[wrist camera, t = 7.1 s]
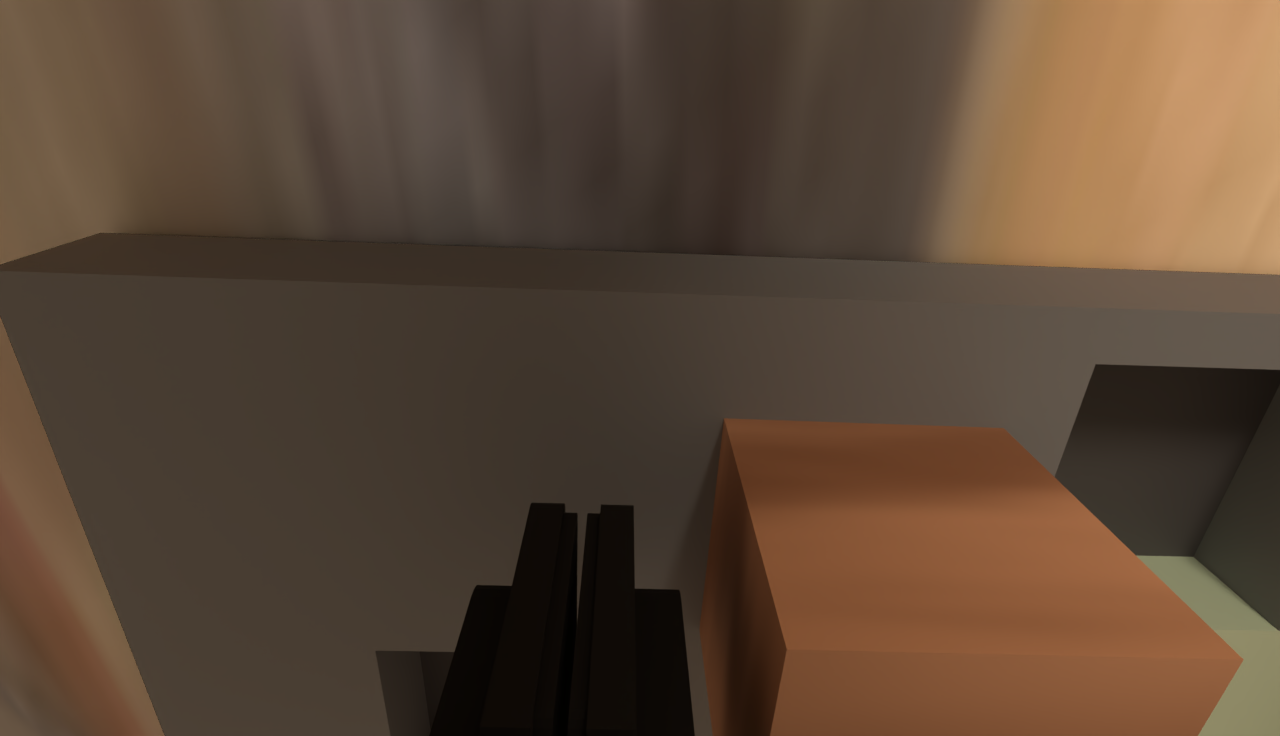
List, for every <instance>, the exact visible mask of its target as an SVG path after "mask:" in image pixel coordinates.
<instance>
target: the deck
mask: <svg viewBox="0 0 1280 736" xmlns="http://www.w3.org/2000/svg"><path fill="white" fill-rule="evenodd" d="M0 317H1V319H2V322H3V324H4V327H5V329H6V332H7V335H8V337H9V340H10V342H11V345H12V347H13V350H14V352H15V355H16V357H17V360H18V363H19V365H20V368H21V370H22V373H23V375H24V378H25V380H26V383H27V386H28V388H29V391H30V393H31V396H32V398H33V401H34V403H35V406H36V408H37V411H38V414H39V416H40V419H41V421H42V424H43V426H44V429H45V431H46V434H47V437H48V439H49V442H50V444H51V447H52V449H53V452H54V454H55V457H56V460H57V462H58V465H59V467H60V470H61V472H62V475H63V477H64V480H65V482H66V485H67V488H68V490H69V493H70V495H71V498H72V500H73V503H74V505H75V508H76V511H77V513H78V516H79V518H80V521H81V523H82V526H83V528H84V531H85V534H86V536H87V539H88V541H89V544H90V546H91V549H92V551H93V554H94V556H95V559H96V562H97V564H98V567H99V569H100V572H101V574H102V577H103V579H104V582H105V585H106V587H107V590H108V592H109V595H110V597H111V600H112V602H113V605H114V608H115V610H116V613H117V615H118V618H119V620H120V623H121V625H122V628H123V630H124V633H125V636H126V638H127V641H128V643H129V646H130V648H131V651H132V653H133V656H134V659H135V661H136V664H137V666H138V669H139V671H140V674H141V676H142V679H143V682H144V684H145V687H146V689H147V692H148V694H149V697H150V699H151V702H152V704H153V707H154V710H155V712H156V715H157V717H158V720H159V722H160V725H161V727H162V730H163V733H164V735H165V736H429V735H430V731H431V728H432V725H433V721H434V718H435V715H436V711H437V708H438V705H439V701H440V698H441V695H442V691H443V688H444V685H445V681H446V678H447V675H448V672H449V668H450V665H451V662H452V658H453V655H454V652H455V648H456V645H457V642H458V638H459V635H460V632H461V628H462V625H463V622H464V618H465V615H466V612H467V608H468V605H469V602H470V598H471V595H472V593H473V590H474V588H475V587H476V585H501V586H512V583H513V578H514V574H515V570H516V565H517V561H518V556H519V552H520V548H521V543H522V539H523V535H524V530H525V526H526V521H527V517H528V513H529V508H530V505H531V503H565V512H567V513H577V514H578V549H577V619H578V608H579V597H580V587H581V576H582V565H583V555H584V544H585V533H586V523H587V514H588V513H600V510H601V504H603V505H634V565H635V589H675V590H679V591H680V594H681V602H682V612H683V622H684V632H685V642H686V652H687V662H688V672H689V682H690V692H691V702H692V712H693V722H694V732H695V736H713V734H712V726H711V718H710V710H709V702H708V694H707V686H706V678H705V670H704V662H703V655H702V647H701V639H700V631H699V629H700V620H701V611H702V603H703V594H704V586H705V577H706V569H707V560H708V551H709V543H710V534H711V526H712V517H713V509H714V500H715V491H716V483H717V474H718V466H719V457H720V449H721V440H722V431H723V423H724V418H728V419H757V420H786V421H815V422H843V423H872V424H901V425H930V426H959V427H988V428H1004V429H1005V430H1006V431H1007V432H1008V433H1009V434H1010V435H1011V436H1012V437H1013V438H1014V439H1016V440H1017V441H1018V442H1019V443H1020V444H1021V445H1022V446H1023V447H1024V448H1025V449H1026V450H1027V451H1028V452H1029V453H1030V454H1031V455H1032V456H1033V457H1034V458H1035V459H1036V460H1037V461H1038V462H1039V463H1040V464H1041V465H1042V466H1044V467H1045V468H1046V469H1047V470H1048V471H1049V472H1050V473H1051V474H1052V475H1053V476H1054V477H1055V478H1056V479H1057V480H1058V481H1059V482H1060V483H1061V484H1062V485H1063V486H1064V487H1065V488H1066V489H1067V490H1068V491H1069V492H1070V493H1072V494H1073V495H1074V496H1075V497H1076V498H1077V499H1078V500H1079V501H1080V502H1081V503H1082V504H1083V505H1084V506H1085V507H1086V508H1087V509H1088V510H1089V511H1090V512H1091V513H1092V514H1093V515H1094V516H1095V517H1096V518H1097V519H1098V520H1099V521H1101V522H1102V523H1103V524H1104V525H1105V526H1106V527H1107V528H1108V529H1109V530H1110V531H1111V532H1112V533H1113V534H1114V535H1115V536H1116V537H1117V538H1118V539H1119V540H1120V541H1121V542H1122V543H1123V544H1124V545H1125V546H1126V547H1127V548H1129V549H1130V550H1131V551H1132V552H1133V553H1134V554H1135V555H1136V556H1137V557H1138V558H1139V559H1140V560H1141V561H1142V562H1143V563H1144V564H1145V565H1146V566H1147V567H1148V568H1149V569H1150V570H1151V571H1152V572H1153V573H1154V574H1155V575H1157V576H1158V577H1159V578H1160V579H1161V580H1162V581H1163V582H1164V583H1165V584H1166V585H1167V586H1168V587H1169V588H1170V589H1171V590H1172V591H1173V592H1174V593H1175V594H1176V595H1177V596H1178V597H1179V598H1180V599H1181V600H1182V601H1183V602H1185V603H1186V604H1187V605H1188V606H1189V607H1190V608H1191V609H1192V610H1193V611H1194V612H1195V613H1196V614H1197V615H1198V616H1199V617H1200V618H1201V619H1202V620H1203V621H1204V622H1205V623H1206V624H1207V625H1208V626H1209V627H1210V628H1211V629H1212V630H1214V631H1215V632H1216V633H1217V634H1218V635H1219V636H1220V637H1221V638H1222V639H1223V640H1224V641H1225V642H1226V643H1227V644H1228V645H1229V646H1230V647H1231V648H1232V649H1233V650H1234V651H1235V652H1236V653H1237V654H1238V655H1239V656H1240V657H1242V658H1243V659H1244V660H1243V662H1242V663H1241V665H1240V667H1239V668H1238V670H1237V672H1236V673H1235V675H1234V677H1233V678H1232V680H1231V682H1230V683H1229V685H1228V687H1227V688H1226V690H1225V692H1224V693H1223V695H1222V697H1221V698H1220V700H1219V702H1218V703H1217V705H1216V707H1215V708H1214V710H1213V712H1212V713H1211V715H1210V717H1209V718H1208V720H1207V721H1206V723H1205V725H1204V726H1203V728H1202V730H1201V731H1200V733H1199V735H1198V736H1280V275H1267V274H1239V273H1211V272H1183V271H1155V270H1127V269H1099V268H1070V267H1042V266H1014V265H986V264H958V263H930V262H902V261H874V260H846V259H818V258H790V257H762V256H734V255H706V254H677V253H649V252H621V251H593V250H565V249H537V248H509V247H481V246H453V245H425V244H397V243H369V242H341V241H313V240H285V239H256V238H228V237H200V236H172V235H144V234H116V233H99V234H96V235H92V236H89V237H86V238H83V239H80V240H77V241H73V242H70V243H67V244H64V245H61V246H58V247H55V248H51V249H48V250H45V251H42V252H39V253H36V254H33V255H29V256H26V257H23V258H20V259H17V260H14V261H10V262H7V263H4V264H1V265H0Z"/></svg>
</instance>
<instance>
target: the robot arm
mask: <svg viewBox="0 0 1280 736" xmlns="http://www.w3.org/2000/svg"><path fill="white" fill-rule="evenodd" d="M577 549H578V514H577V513H567V512H565V503H531V505H530V508H529V513H528V517H527V521H526V526H525V530H524V535H523V539H522V543H521V548H520V552H519V556H518V561H517V565H516V570H515V574H514V578H513V583H512V586H501V585H476V587H475V588H474V590H473V593H472V595H471V598H470V602H469V605H468V608H467V612H466V615H465V618H464V622H463V625H462V628H461V632H460V635H459V638H458V642H457V645H456V648H455V652H454V655H453V658H452V662H451V665H450V668H449V672H448V675H447V678H446V681H445V685H444V688H443V691H442V695H441V698H440V701H439V705H438V708H437V711H436V715H435V718H434V721H433V725H432V728H431V731H430V735H429V736H695V732H694V722H693V712H692V702H691V692H690V682H689V672H688V662H687V652H686V642H685V632H684V622H683V612H682V602H681V594H680V591H679V590H675V589H635V565H634V505H603V504H601V510H600V513H588V514H587V523H586V533H585V544H584V555H583V565H582V576H581V587H580V597H579V608H578V619H577Z"/></svg>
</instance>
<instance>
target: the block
mask: <svg viewBox="0 0 1280 736" xmlns="http://www.w3.org/2000/svg"><path fill="white" fill-rule="evenodd" d="M699 631H700V639H701V647H702V655H703V662H704V670H705V678H706V686H707V694H708V702H709V710H710V718H711V726H712V734H713V736H1198V735H1199V733H1200V731H1201V730H1202V728H1203V726H1204V725H1205V723H1206V721H1207V720H1208V718H1209V717H1210V715H1211V713H1212V712H1213V710H1214V708H1215V707H1216V705H1217V703H1218V702H1219V700H1220V698H1221V697H1222V695H1223V693H1224V692H1225V690H1226V688H1227V687H1228V685H1229V683H1230V682H1231V680H1232V678H1233V677H1234V675H1235V673H1236V672H1237V670H1238V668H1239V667H1240V665H1241V663H1242V662H1243V660H1244V659H1243V658H1242V657H1240V656H1239V655H1238V654H1237V653H1236V652H1235V651H1234V650H1233V649H1232V648H1231V647H1230V646H1229V645H1228V644H1227V643H1226V642H1225V641H1224V640H1223V639H1222V638H1221V637H1220V636H1219V635H1218V634H1217V633H1216V632H1215V631H1214V630H1212V629H1211V628H1210V627H1209V626H1208V625H1207V624H1206V623H1205V622H1204V621H1203V620H1202V619H1201V618H1200V617H1199V616H1198V615H1197V614H1196V613H1195V612H1194V611H1193V610H1192V609H1191V608H1190V607H1189V606H1188V605H1187V604H1186V603H1185V602H1183V601H1182V600H1181V599H1180V598H1179V597H1178V596H1177V595H1176V594H1175V593H1174V592H1173V591H1172V590H1171V589H1170V588H1169V587H1168V586H1167V585H1166V584H1165V583H1164V582H1163V581H1162V580H1161V579H1160V578H1159V577H1158V576H1157V575H1155V574H1154V573H1153V572H1152V571H1151V570H1150V569H1149V568H1148V567H1147V566H1146V565H1145V564H1144V563H1143V562H1142V561H1141V560H1140V559H1139V558H1138V557H1137V556H1136V555H1135V554H1134V553H1133V552H1132V551H1131V550H1130V549H1129V548H1127V547H1126V546H1125V545H1124V544H1123V543H1122V542H1121V541H1120V540H1119V539H1118V538H1117V537H1116V536H1115V535H1114V534H1113V533H1112V532H1111V531H1110V530H1109V529H1108V528H1107V527H1106V526H1105V525H1104V524H1103V523H1102V522H1101V521H1099V520H1098V519H1097V518H1096V517H1095V516H1094V515H1093V514H1092V513H1091V512H1090V511H1089V510H1088V509H1087V508H1086V507H1085V506H1084V505H1083V504H1082V503H1081V502H1080V501H1079V500H1078V499H1077V498H1076V497H1075V496H1074V495H1073V494H1072V493H1070V492H1069V491H1068V490H1067V489H1066V488H1065V487H1064V486H1063V485H1062V484H1061V483H1060V482H1059V481H1058V480H1057V479H1056V478H1055V477H1054V476H1053V475H1052V474H1051V473H1050V472H1049V471H1048V470H1047V469H1046V468H1045V467H1044V466H1042V465H1041V464H1040V463H1039V462H1038V461H1037V460H1036V459H1035V458H1034V457H1033V456H1032V455H1031V454H1030V453H1029V452H1028V451H1027V450H1026V449H1025V448H1024V447H1023V446H1022V445H1021V444H1020V443H1019V442H1018V441H1017V440H1016V439H1014V438H1013V437H1012V436H1011V435H1010V434H1009V433H1008V432H1007V431H1006V430H1005V429H1004V428H988V427H959V426H930V425H901V424H872V423H843V422H815V421H786V420H757V419H728V418H724V423H723V431H722V440H721V449H720V457H719V466H718V474H717V483H716V491H715V500H714V509H713V517H712V526H711V534H710V543H709V551H708V560H707V569H706V577H705V586H704V594H703V603H702V611H701V620H700V629H699Z"/></svg>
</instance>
